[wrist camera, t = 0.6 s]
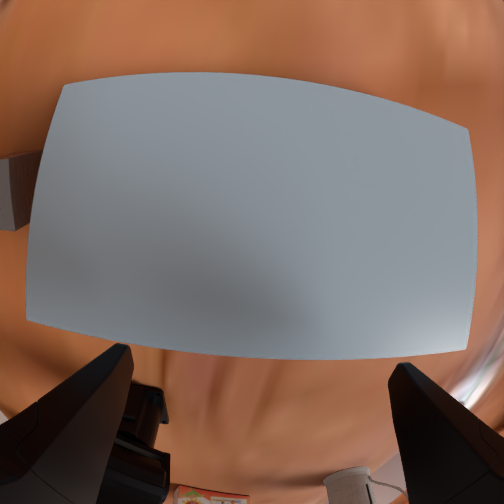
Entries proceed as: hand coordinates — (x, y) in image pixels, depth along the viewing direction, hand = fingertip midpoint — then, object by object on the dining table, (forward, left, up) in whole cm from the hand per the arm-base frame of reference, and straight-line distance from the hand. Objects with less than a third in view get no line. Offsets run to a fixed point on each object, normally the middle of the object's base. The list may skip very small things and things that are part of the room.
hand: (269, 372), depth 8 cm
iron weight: (+3, +19, -13) cm, 23 cm away
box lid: (+3, 0, -6) cm, 7 cm away
